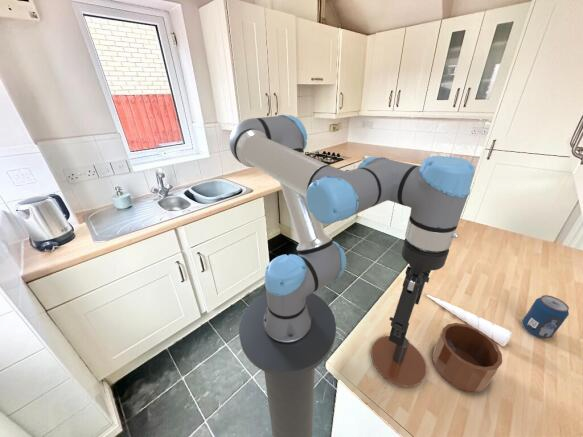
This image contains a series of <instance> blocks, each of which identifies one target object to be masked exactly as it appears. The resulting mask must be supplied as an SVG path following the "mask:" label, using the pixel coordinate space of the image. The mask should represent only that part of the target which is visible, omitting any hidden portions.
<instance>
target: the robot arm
mask: <svg viewBox="0 0 583 437" xmlns="http://www.w3.org/2000/svg"><path fill="white" fill-rule="evenodd" d="M307 140H308V134H307V130H306V128H305V125H304V124H303V122H302V121H301V120H300V119H299V118H298V117H297V116H294V115H291V114H289V115H287V114H278V115H274V116H265V117H264V116H263V117H252V118H251V117H250V118H246V119H244V120H242V121H240V122H239V123H237V124H236V125H235V126H234V128H233V129H232V131H231V133H230V136H229V140H228V141H229V150H230V152H231V154H232V156H233V157H234V159H236V161H238V162H239V163H240V164H242V165H243V166H245V167H248V168H256V169H257V170H259V171H261V172H262V173H263V174H266V175H268V176H269V177H271V178H272V179H274V180H275V181H277V182H279V185H280V187H281V190H282V194H283V198H284V199H285V203H286V206H287V209H288V212H289V215H290V218H291V221H292V224H293V227H294V230H295V233H296V236H297V239H298V244H297V246H296V251H297V254H294V253H289V254H288V255H287V254H281V255H278V256H276V257H275V258H273V259H272V260H271V261H270V262H269V263H268V264H267V266H266V268H265V271H264V272H265V273H264V287H265V293H266V295H267V304H268V306H267V309H266V312H265V315H264V320H263V323H264V330H265V332H266V334H267V335H268V337H269V338H270V339H272V340H273V341H275V342H277V343H280V344H293V343H297V342H299V341H301V340H302V339H304V338H305V337H306V336H307V334H308V333H309V331H310V329H311V318H312V317H311V314H310V312H309V310H308V308H307V305H306V297H307V296H308V295H310V294H312V293H315V292H318V290H320V289H322V288H323V287H325V286H327V285H328V284H330V283H332V282H335V281H337V279H339V278H340V277H341V276H342V275H344V273H345V271H346V269H347V257H346V252H345V250H344V249H343V247H341V245H340V244H339V243H338V242H336V241H333V238H332V236H329V235H328V234H326V232H325V228H324V226H323V224H325V225H330V224H334V223H337V222H340V221H344V220H347V219H349V218H351V217H353V216H355V215H357V214H359V213H361V212H364V211H366V210H368V209H371V208H372V207H376V206H379V205H380V204H382V203H385V202H388V201H389V202H392V203H395V204H398V205H401V206H404V207H408V208H410V215H409V217H408V222H407V226H406V229H405V234H404V237H405V238H404V240H403V245H402V249H401V257H402V259H403V260H404V261H405V263H407V264H408V266H407V267H406V270H405V277H404V280H403V283H402V289H401V291H400V292H401V293H400V296H399V299H398V301H397V305H396V308H395V310H394V315H393V317H392V316H390V317H389V319H388V320H389V321H390V326H391V328H390V331H389V332H390V333H389V335H388V336H389V341H391V342H393V343H395V344H397V345H399V346H401V347H402V346H403V343H404V340H405V338H406V336H407V333H408V329H409V326H410V319H411V317H412V313H413V310H414V308H415V305H419V304H420V300H421V297H422V294H423V290H424V287H425V284H426V283H428V284H429V281H430V274H431V272H432V271H439V270H440V269H442V268H443V267H444V266H445V265H446V263H447V262H446V261H447V258H448V256H449V252H450V248H451V246H452V243H453V239H458V238H459V233H458V232H456V230H457V228H458V225H459V222H460V219H461V216H462V213H463V212H464V209H465V206H466V203H467V200H468V197H469V196H470V194H471V187H472V183H473V179H474V175H475V172H476V169H475V166H474V164H473V163H472V162H471V161H469V160H467V159H465V158H464V159H463V158H461V157H456V156H445V155H433V156H428V157H425V158H424V159H423V160H422V162H421V165H417V164H412V163H408V162H404V161H400V160H399V161H398V160H394V159H390V158H387V157H384V156H381V157H380V156H379V157H378V156H367V157H366V158H364V159H363V160H362V162H359V164H358V166H357V168H353V169H350V170H343V169H340V168H337V167H335V166H332V165H330V164H327V163H325V162H323V161H320V160H319V159H316V158H314V157H312V156H309V155H307V154H305V150H306V147H307V144H308V142H307Z"/></svg>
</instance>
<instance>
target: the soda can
mask: <svg viewBox="0 0 583 437" xmlns="http://www.w3.org/2000/svg"><path fill="white" fill-rule="evenodd" d="M569 310H570V307H569V306H568V304H567V303H566V302H565V301H563V300H561V299H560V298H558V297H555V296H552V295H549V294H548V295H547V294H543V295H541V297H540V296H539V297H538V298H536V299H534V302H533V303H532V305H531V306H530V308H529V310H528V311H527V313H526V314H525V316H524V317H523V319H522V321H521V323H522V326H523V328H524V330H525V332H527V333H528V334H530V335H531V336H533V337H535V338H539V339H541V340H542V339H551V338H553V336H554V335H555V334H556V333H557V331H558V330H559V329H560V327H561V326H562V325H563V323H564V322H565V321H566V319H567V318H568V316H570V314H569Z"/></svg>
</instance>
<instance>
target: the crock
mask: <svg viewBox="0 0 583 437" xmlns="http://www.w3.org/2000/svg"><path fill="white" fill-rule="evenodd" d="M432 362H433V364H434V367H435V369H436V370H437V371H438V373H439V374H440V375H441V377H442V378H443V379H444V380H446V381H447V382H448V383H449V384H451V385H452V386H454V387H455V388H457V389H458V390H459V389H460V390H462V391H464V392H469V393H479V392H482V391H484V390H485V389H486V387H487V386H488V385H489V384H490V382H491V381H492V380H493V378H494V376H495V375H496V373H497V372H498V370H499V369H500V368H501V366H502V364H503V354H502V352H501V350H500V349H499V347H498V345H497V344H496V343H495V341H494V340H493V339H491V338H489V337H488V336H487V335H486V334H484V333H483V332H481V331H480V330H478V329H476V328H474V327H472V326H471V325H469V324H466V323H461V322H453V323H447V324H446V325H445V326H444V327H442V329H441V332H440V334H439V336H438V339H437V341H436V344H435V346H434V348H433V352H432Z"/></svg>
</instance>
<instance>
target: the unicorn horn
mask: <svg viewBox="0 0 583 437" xmlns="http://www.w3.org/2000/svg"><path fill="white" fill-rule="evenodd" d="M426 297H428V298H429V299H430V300H432V301H433V302H435V303H436V304H438V305H439V306H440V307H442V308H443V309H445V310H447V311H448V312H449V313H451V314H453V315H454V316H455V317H457V318H459V320H462V321H463V322H465V324H466V323H467V325H469V326H471V327H474V328H476V329H478V330H480V331H481V332H483V333H484V334H486V335H487V336H488V337H489V338H490V339H491V340H492V341H493V342H494V343H495V342H496V343H497V344H498V345H500V346H502V347H505V346H507V345H508V343H509V342H510V340H511V337H512V334H513V333H512V331H511V330H508V329H507V328H506V327H505V328H504V327H502V326H500V325H498V324H496V323H493V322H492V321H489V320H487V319H485V318H483V317H481V316H479V315H476V314H474V313H472V312H469V311H467V310H465V309H464V308H463V309H462V308H461V307H458V306H456V305H453V304H452V303H449V302H448V301H445V300H442V299H440V298H437V297H435V296H432V295H430V294H426Z"/></svg>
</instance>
